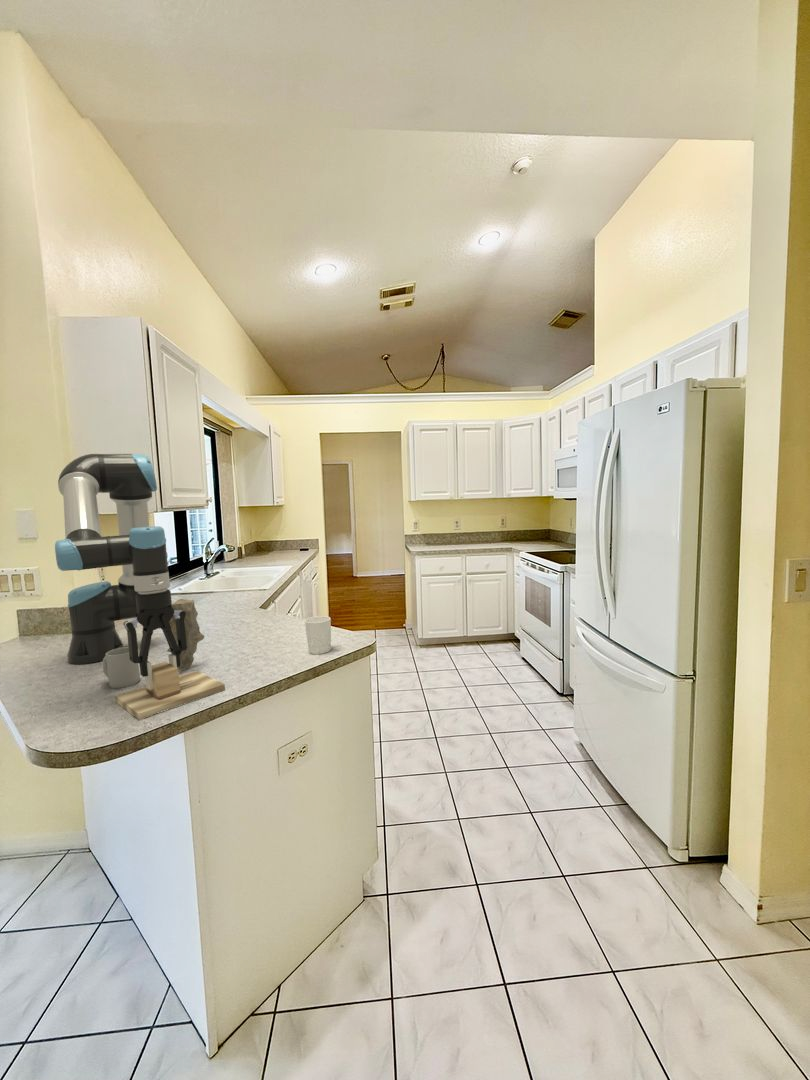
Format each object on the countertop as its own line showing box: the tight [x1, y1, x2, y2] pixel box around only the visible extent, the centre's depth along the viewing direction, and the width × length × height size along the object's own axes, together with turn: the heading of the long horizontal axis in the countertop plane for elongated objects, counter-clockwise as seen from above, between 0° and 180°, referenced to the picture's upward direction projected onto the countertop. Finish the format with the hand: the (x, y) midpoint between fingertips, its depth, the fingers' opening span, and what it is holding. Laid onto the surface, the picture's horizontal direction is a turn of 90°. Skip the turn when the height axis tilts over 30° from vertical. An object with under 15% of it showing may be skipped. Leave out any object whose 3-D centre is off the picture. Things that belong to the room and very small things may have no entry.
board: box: [114, 670, 226, 721], centre depth 116 cm, size 16×20×2 cm
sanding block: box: [144, 661, 181, 699], centre depth 115 cm, size 8×5×6 cm, turn 47°
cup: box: [101, 646, 141, 689], centre depth 126 cm, size 7×10×9 cm
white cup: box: [304, 615, 332, 655], centre depth 145 cm, size 8×8×10 cm
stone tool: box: [166, 598, 205, 671], centre depth 134 cm, size 12×6×20 cm, turn 150°
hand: (162, 683), depth 115 cm, fingers closed on sanding block, 5 cm apart
